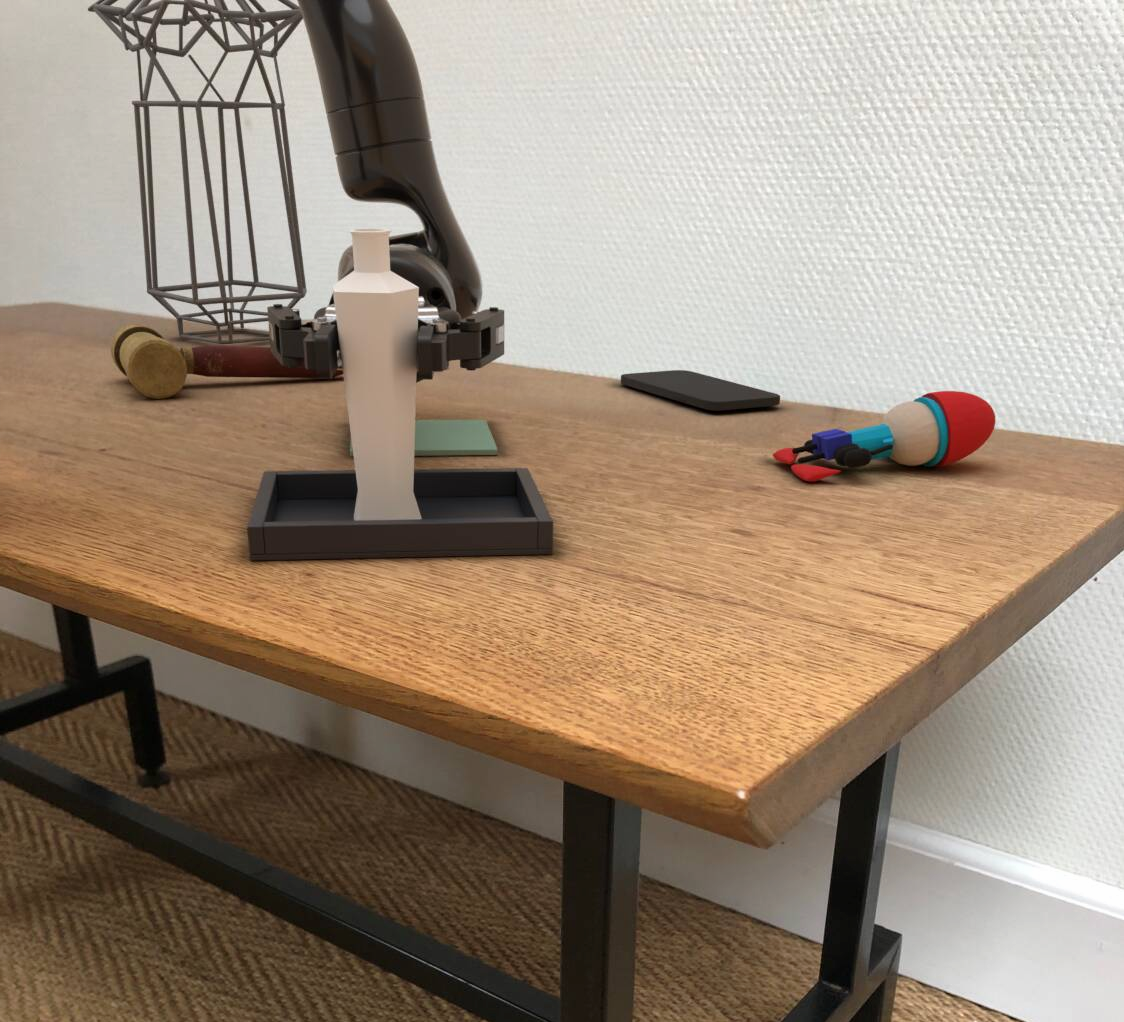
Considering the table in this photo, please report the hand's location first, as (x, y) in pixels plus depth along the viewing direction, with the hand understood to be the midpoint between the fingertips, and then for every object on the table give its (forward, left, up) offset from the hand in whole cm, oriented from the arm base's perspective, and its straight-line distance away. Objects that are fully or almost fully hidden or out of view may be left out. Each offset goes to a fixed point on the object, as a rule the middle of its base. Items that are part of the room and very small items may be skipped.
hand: (374, 357), depth 64 cm
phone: (+27, +41, -10) cm, 50 cm away
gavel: (-11, +48, -10) cm, 50 cm away
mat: (+3, +25, -9) cm, 27 cm away
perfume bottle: (0, +3, -9) cm, 10 cm away
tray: (+1, +3, -9) cm, 10 cm away
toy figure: (+34, +15, -10) cm, 38 cm away
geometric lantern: (-15, +73, -10) cm, 75 cm away
